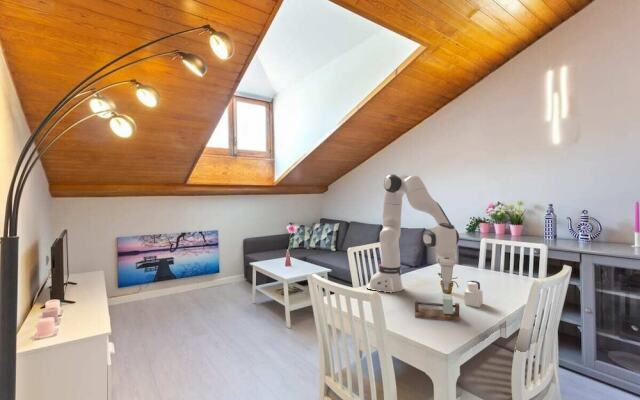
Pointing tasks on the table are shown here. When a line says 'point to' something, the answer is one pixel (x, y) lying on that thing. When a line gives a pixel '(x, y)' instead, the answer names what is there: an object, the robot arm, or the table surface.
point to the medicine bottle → (473, 294)
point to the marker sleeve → (447, 305)
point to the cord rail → (436, 312)
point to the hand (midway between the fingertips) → (445, 286)
